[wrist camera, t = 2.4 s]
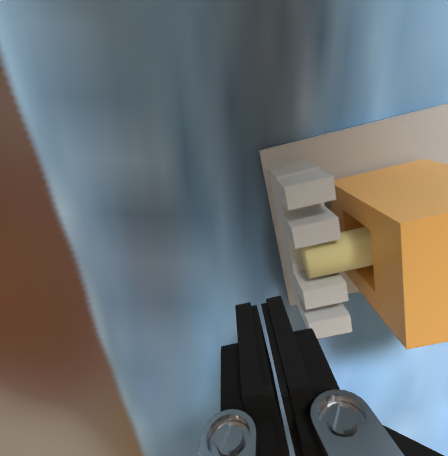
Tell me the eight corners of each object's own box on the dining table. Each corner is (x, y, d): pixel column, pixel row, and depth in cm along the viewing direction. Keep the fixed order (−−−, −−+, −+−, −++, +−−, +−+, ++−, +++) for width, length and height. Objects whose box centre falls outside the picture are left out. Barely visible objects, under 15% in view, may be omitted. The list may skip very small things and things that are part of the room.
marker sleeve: (328, 181, 16) (400, 223, 10) (422, 158, 16) (563, 187, 9) (339, 265, 18) (406, 349, 12) (424, 247, 18) (544, 322, 11)
